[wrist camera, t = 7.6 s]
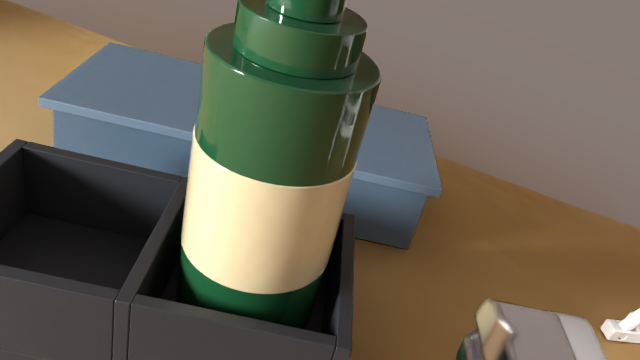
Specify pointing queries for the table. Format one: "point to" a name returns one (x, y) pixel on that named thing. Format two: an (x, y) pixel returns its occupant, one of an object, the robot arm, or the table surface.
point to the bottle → (273, 156)
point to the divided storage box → (130, 271)
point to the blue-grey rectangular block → (179, 119)
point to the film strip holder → (623, 328)
